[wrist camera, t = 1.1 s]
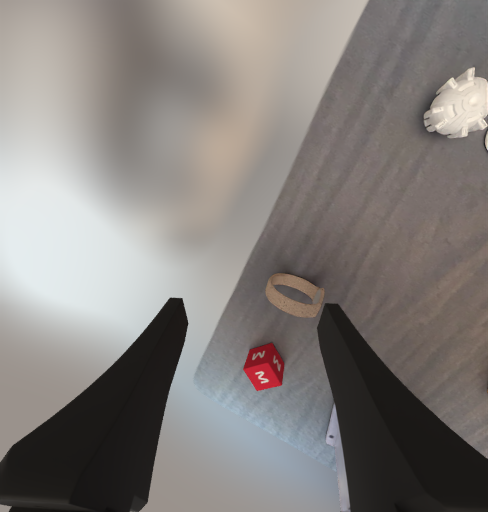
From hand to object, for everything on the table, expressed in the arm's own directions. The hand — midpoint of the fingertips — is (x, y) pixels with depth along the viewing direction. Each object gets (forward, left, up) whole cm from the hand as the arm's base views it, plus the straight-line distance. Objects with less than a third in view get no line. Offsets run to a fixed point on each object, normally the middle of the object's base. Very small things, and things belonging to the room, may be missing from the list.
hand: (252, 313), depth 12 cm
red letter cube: (-13, 0, -11) cm, 17 cm away
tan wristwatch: (-3, -2, -11) cm, 12 cm away
